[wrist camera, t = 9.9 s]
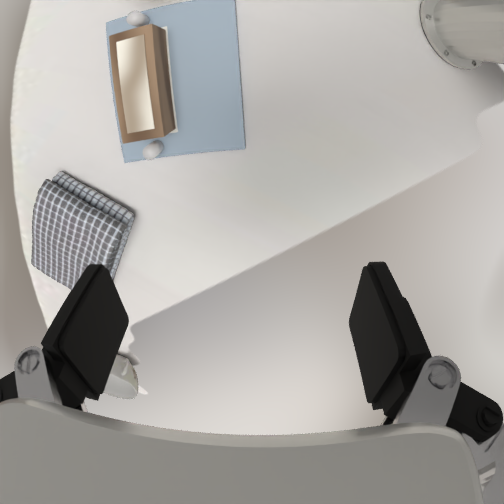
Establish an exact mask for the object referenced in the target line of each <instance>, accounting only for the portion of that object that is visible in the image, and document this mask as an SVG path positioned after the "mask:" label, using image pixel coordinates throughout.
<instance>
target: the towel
mask: <svg viewBox="0 0 504 504" xmlns="http://www.w3.org/2000/svg"><path fill="white" fill-rule="evenodd" d="M133 221H134V214H133V213H131V212H130V211H128V210H127V209H126V208H124V207H122V206H121V205H119V204H116V202H114V201H112V200H110V199H109V198H107V197H104V196H103V195H102V194H100V193H98V192H97V191H95V190H93V189H92V188H90V187H87V186H86V185H84V184H81V183H80V182H78V181H76V180H75V179H74V178H71V177H70V176H69V175H67V174H65V173H64V172H62V171H60V172H59V173H58V174H57V175H56V176H55V177H53V179H52V181H51V180H49V179H46V180H45V181H44V183H43V185H42V186H41V188H40V189H39V191H38V196H37V198H36V203H35V205H34V209H33V220H32V234H33V235H32V238H33V240H32V243H33V245H32V259H31V262H32V265H33V266H34V267H36V268H37V269H38V270H41V271H42V272H43V273H44V274H46V275H48V276H49V277H51V278H52V279H54V280H56V281H57V282H59V283H62V284H63V285H65V286H67V287H68V288H69V289H71V290H72V289H73V287H74V286H75V284H76V282H77V281H78V279H79V278H80V276H81V275H82V273H83V272H84V270H85V269H86V267H87V266H88V265H89V264H103V265H104V266H105V268H107V269H108V270H109V272H110V275H111V277H112V280H113V279H114V276H115V273H116V270H117V267H118V264H119V261H120V258H121V255H122V252H123V250H124V246H125V244H126V241H127V238H128V235H129V232H130V230H131V227H132V223H133Z"/></svg>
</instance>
